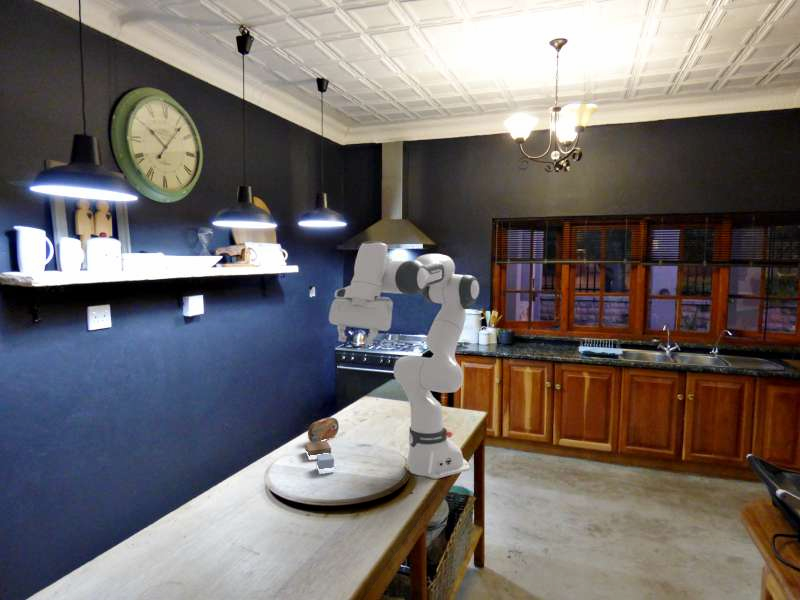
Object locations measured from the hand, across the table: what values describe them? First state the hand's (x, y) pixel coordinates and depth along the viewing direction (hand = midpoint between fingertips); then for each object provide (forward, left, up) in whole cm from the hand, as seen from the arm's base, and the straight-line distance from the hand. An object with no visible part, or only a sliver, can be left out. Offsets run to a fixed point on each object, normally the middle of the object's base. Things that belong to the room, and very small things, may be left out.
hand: (354, 343), depth 135 cm
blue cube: (+2, -29, -49) cm, 57 cm away
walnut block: (+2, -43, -49) cm, 66 cm away
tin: (-2, -58, -49) cm, 76 cm away
